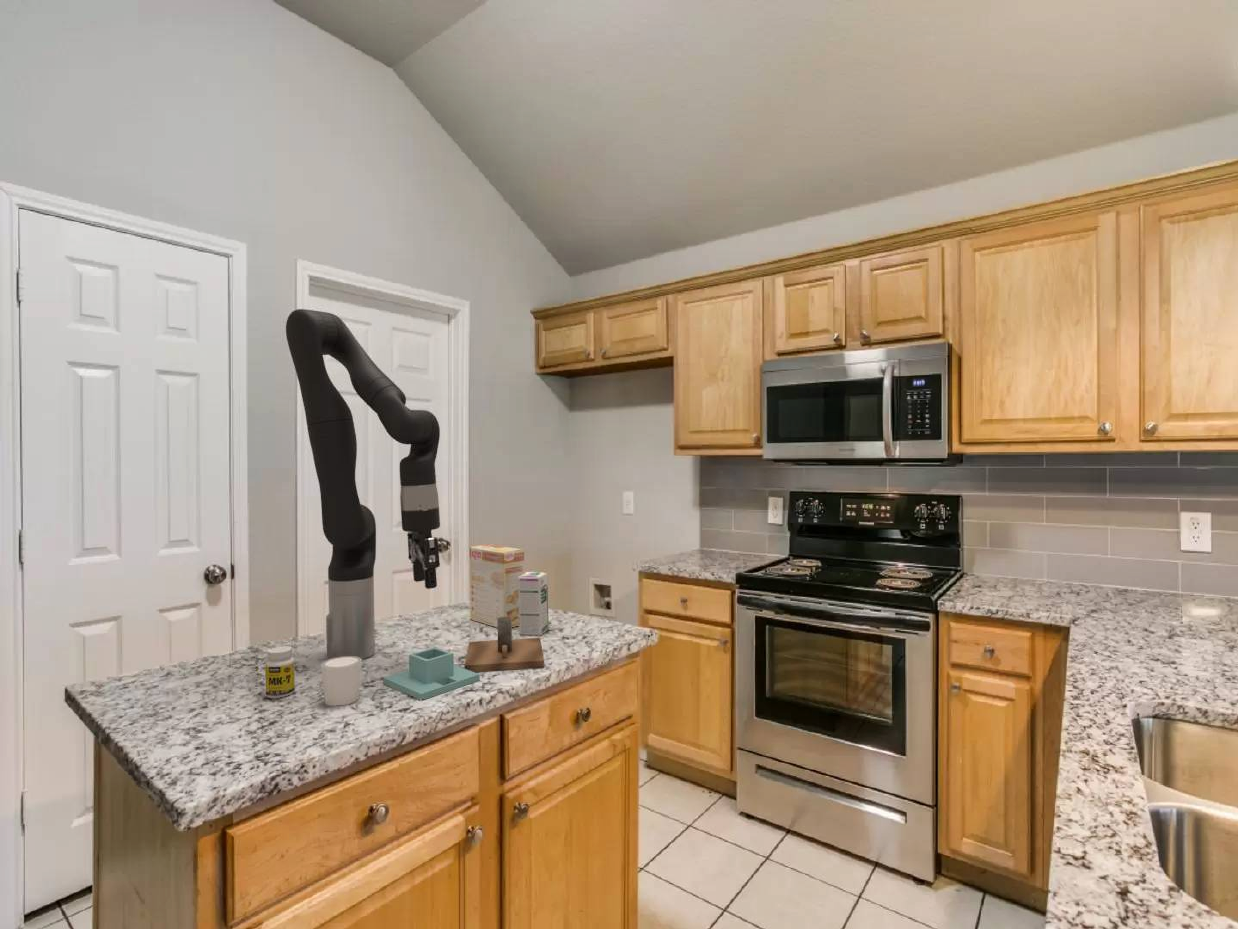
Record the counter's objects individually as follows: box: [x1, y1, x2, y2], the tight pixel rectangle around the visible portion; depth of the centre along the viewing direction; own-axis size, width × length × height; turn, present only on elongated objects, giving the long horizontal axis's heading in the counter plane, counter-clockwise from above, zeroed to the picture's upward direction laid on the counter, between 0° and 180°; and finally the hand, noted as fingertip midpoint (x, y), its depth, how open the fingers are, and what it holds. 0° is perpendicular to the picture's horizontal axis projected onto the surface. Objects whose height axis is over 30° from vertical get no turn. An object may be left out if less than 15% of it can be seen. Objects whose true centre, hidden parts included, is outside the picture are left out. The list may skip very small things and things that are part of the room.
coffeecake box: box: [469, 543, 525, 629], centre depth 167 cm, size 15×7×20 cm, turn 46°
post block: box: [464, 617, 545, 673], centre depth 139 cm, size 16×16×8 cm
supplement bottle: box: [264, 645, 296, 699], centre depth 119 cm, size 5×5×8 cm
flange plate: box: [382, 646, 481, 701], centre depth 125 cm, size 13×13×6 cm
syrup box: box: [518, 571, 550, 637], centre depth 158 cm, size 6×6×14 cm
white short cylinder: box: [320, 656, 363, 706], centre depth 116 cm, size 7×7×7 cm
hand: (425, 584), depth 133 cm, fingers open, 8 cm apart
